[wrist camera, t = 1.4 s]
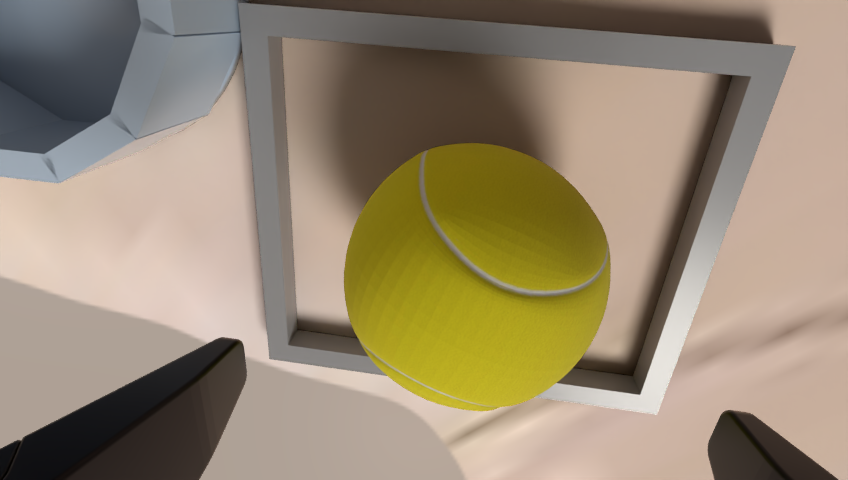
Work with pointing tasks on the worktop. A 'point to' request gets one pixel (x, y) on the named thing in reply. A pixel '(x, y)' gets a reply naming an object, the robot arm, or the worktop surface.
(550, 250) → the tennis ball
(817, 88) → the worktop surface
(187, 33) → the bowl
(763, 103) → the grey square frame
